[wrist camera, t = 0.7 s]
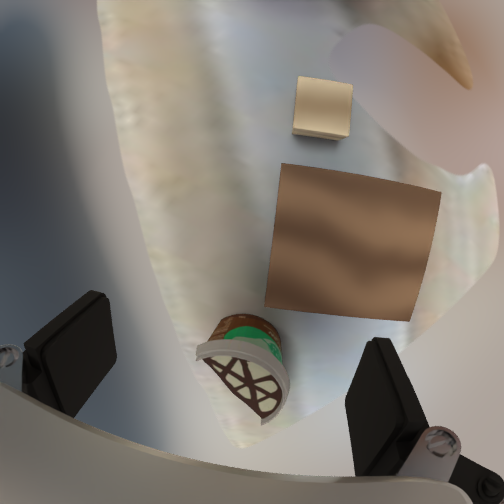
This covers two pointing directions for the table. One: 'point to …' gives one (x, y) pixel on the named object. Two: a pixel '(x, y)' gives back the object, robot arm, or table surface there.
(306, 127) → the birch block
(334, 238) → the walnut box
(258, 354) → the food container
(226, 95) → the table surface
